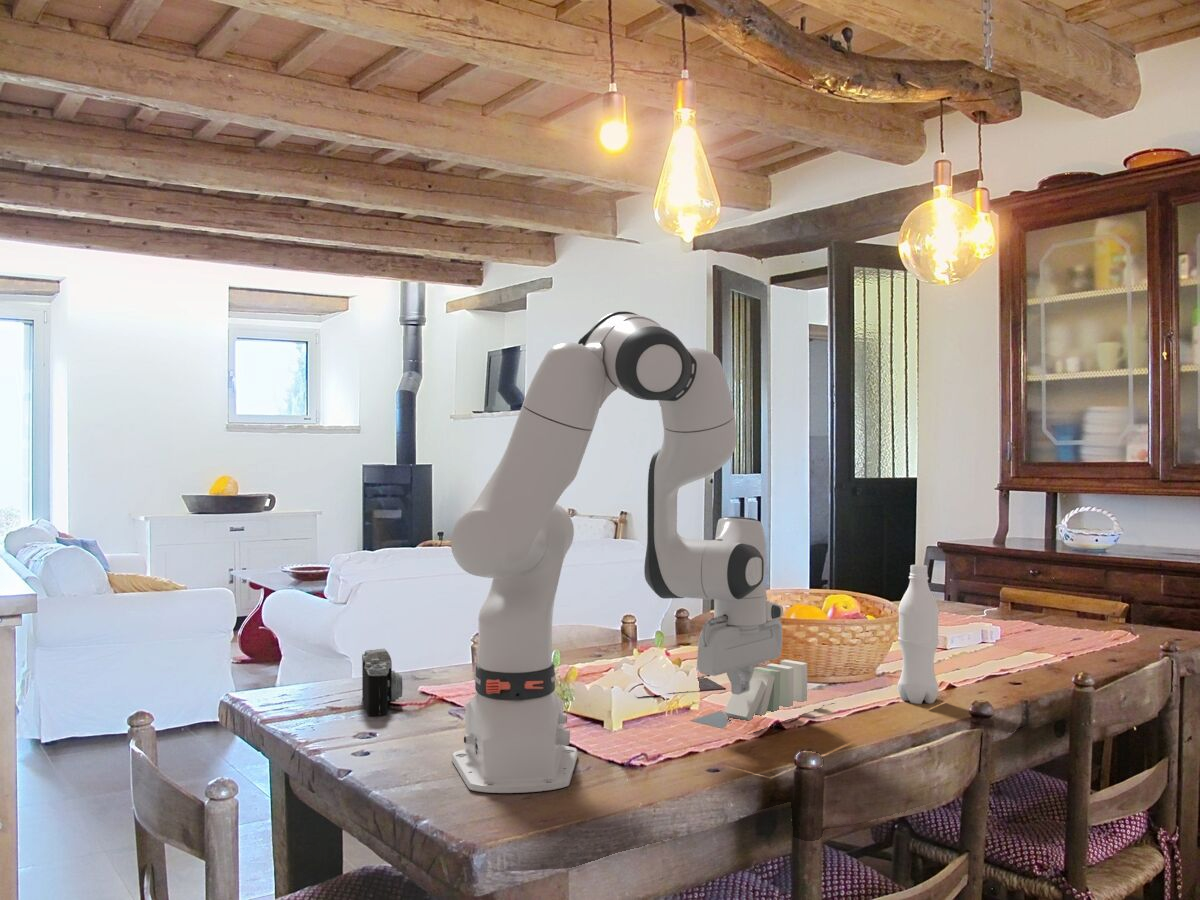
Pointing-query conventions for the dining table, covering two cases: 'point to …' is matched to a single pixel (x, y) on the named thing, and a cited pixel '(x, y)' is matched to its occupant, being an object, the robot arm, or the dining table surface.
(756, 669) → the tile
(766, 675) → the tile
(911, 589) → the water bottle
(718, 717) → the felt runner
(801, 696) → the tile
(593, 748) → the dining table surface
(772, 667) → the tile
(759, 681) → the tile
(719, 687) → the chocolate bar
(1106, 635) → the dining table surface
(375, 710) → the camera
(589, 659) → the dining table surface
